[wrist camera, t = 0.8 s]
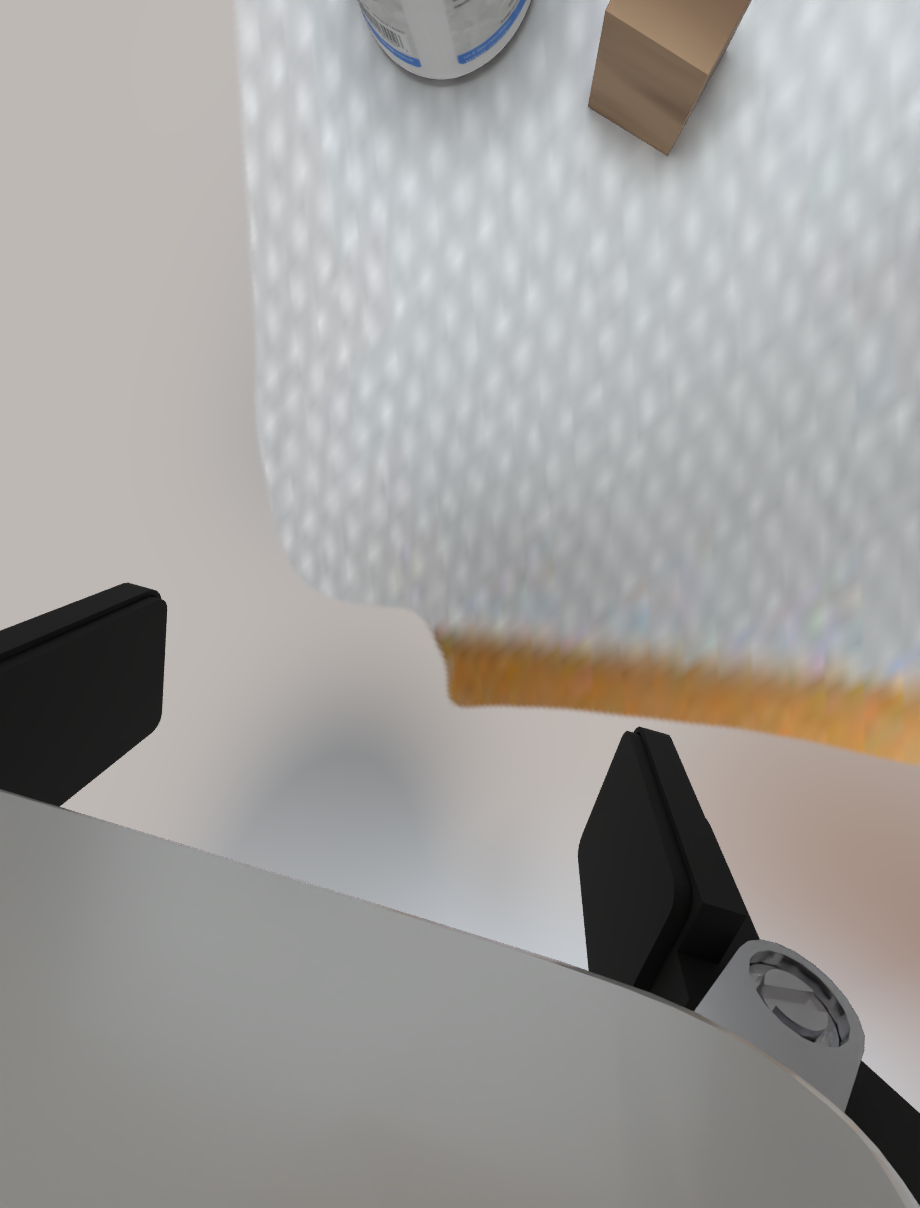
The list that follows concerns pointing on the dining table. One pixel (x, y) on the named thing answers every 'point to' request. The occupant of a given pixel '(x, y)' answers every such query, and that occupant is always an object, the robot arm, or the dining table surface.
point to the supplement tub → (443, 32)
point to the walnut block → (659, 62)
